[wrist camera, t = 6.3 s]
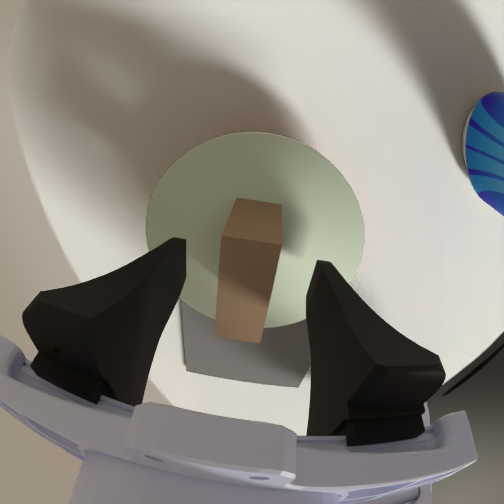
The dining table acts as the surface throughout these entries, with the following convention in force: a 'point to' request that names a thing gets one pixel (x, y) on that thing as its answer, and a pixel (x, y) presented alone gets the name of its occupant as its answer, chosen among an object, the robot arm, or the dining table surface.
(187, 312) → the mat
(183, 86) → the dining table surface
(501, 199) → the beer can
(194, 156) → the lid
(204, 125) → the dining table surface
